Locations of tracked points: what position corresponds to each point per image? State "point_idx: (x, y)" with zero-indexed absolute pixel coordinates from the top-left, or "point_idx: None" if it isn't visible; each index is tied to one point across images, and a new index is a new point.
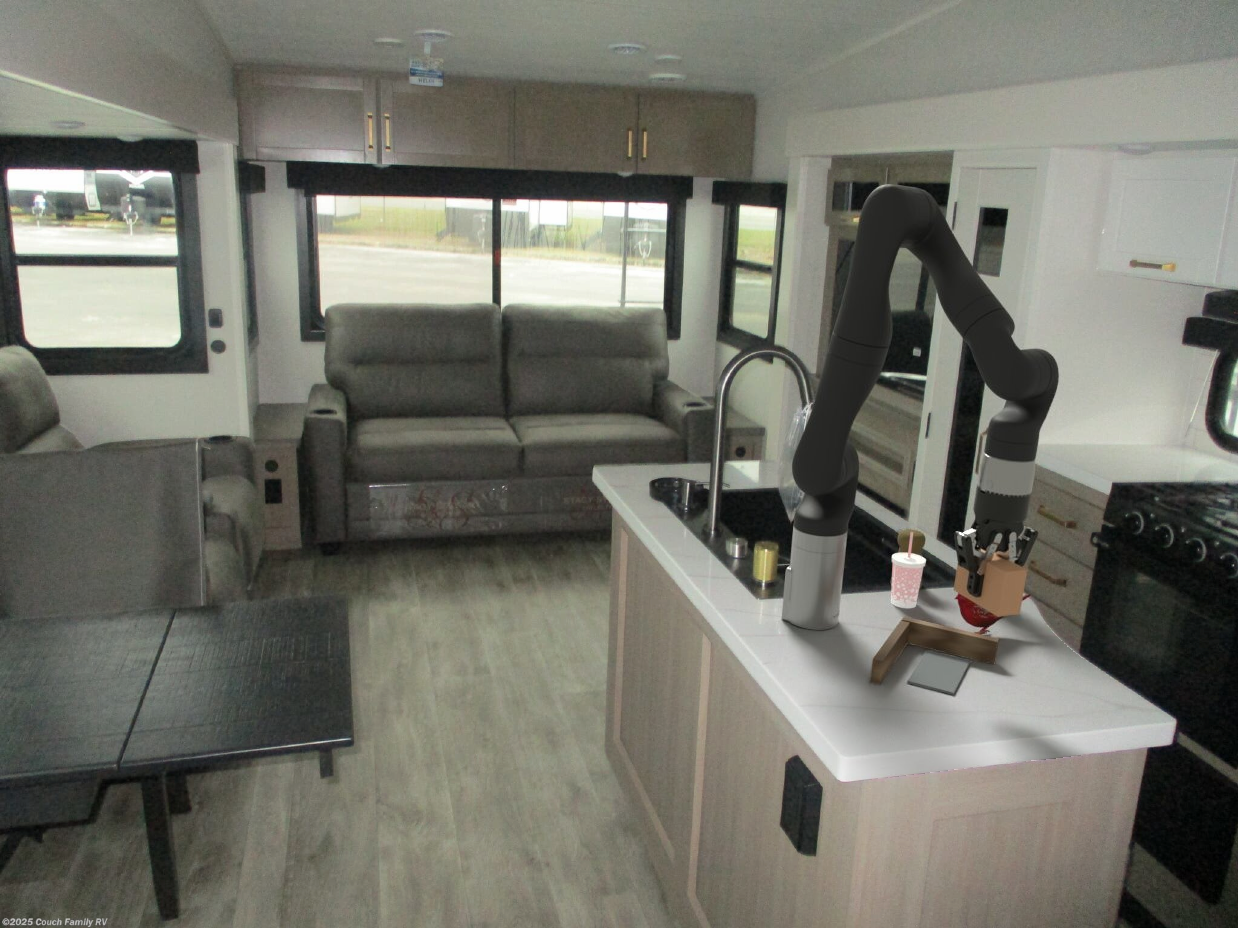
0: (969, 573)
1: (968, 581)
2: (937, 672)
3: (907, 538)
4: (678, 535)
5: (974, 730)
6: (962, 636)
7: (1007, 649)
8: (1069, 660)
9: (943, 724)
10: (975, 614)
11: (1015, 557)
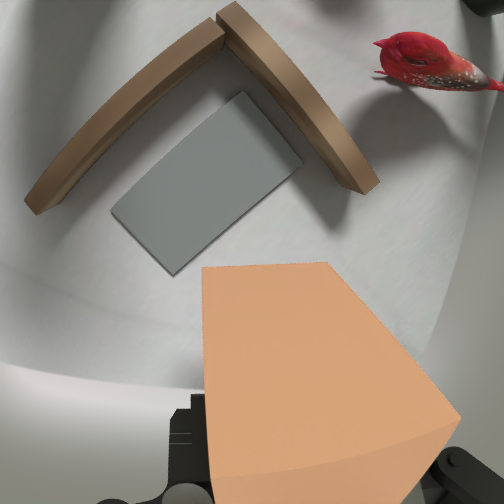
0: (169, 480)
1: (170, 447)
2: (193, 192)
3: None
4: None
5: (144, 366)
6: (316, 130)
7: (408, 144)
8: (458, 216)
9: (106, 343)
10: (404, 79)
11: (436, 497)
